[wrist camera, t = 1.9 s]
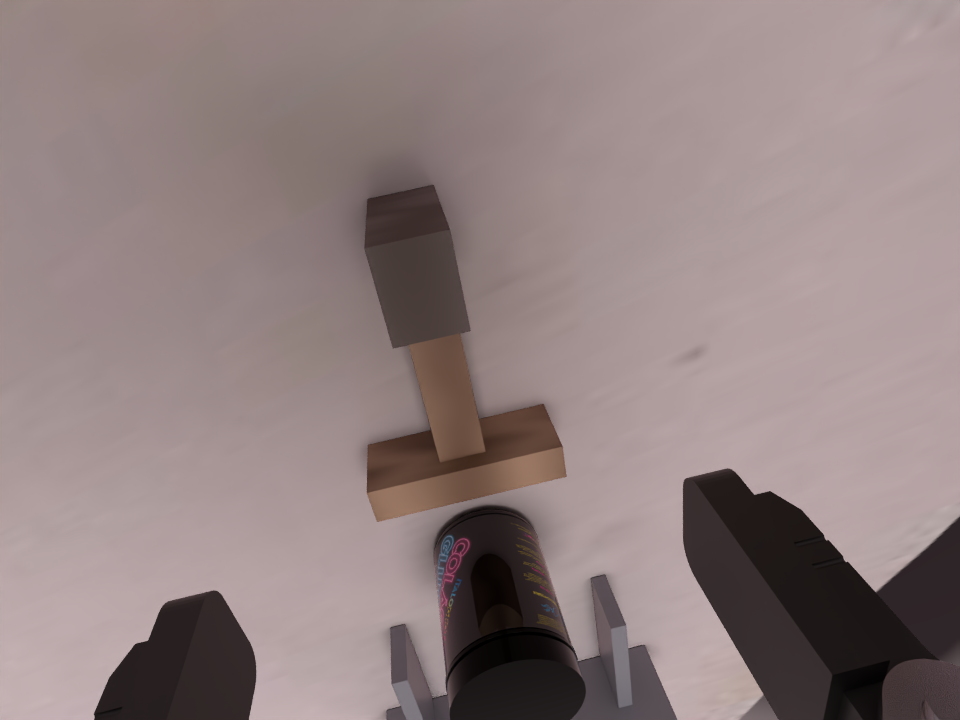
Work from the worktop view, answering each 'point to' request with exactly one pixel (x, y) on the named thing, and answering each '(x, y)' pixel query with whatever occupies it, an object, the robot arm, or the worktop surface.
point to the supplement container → (502, 624)
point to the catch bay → (608, 678)
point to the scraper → (441, 374)
